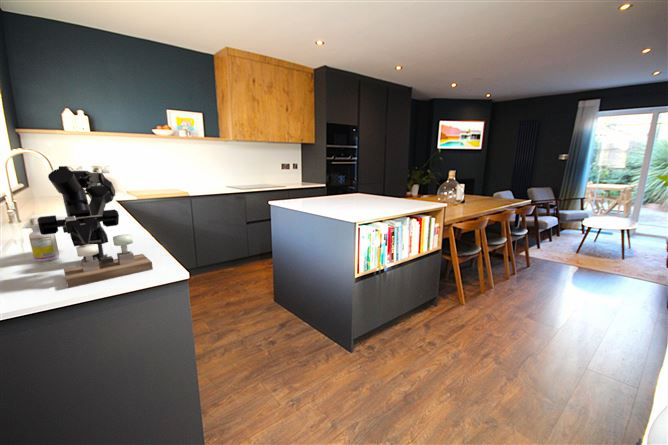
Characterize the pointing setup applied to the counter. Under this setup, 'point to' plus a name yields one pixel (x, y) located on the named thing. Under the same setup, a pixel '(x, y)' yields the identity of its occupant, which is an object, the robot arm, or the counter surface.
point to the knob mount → (106, 268)
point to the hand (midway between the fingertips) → (86, 243)
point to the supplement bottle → (43, 245)
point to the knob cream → (87, 251)
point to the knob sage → (123, 242)
